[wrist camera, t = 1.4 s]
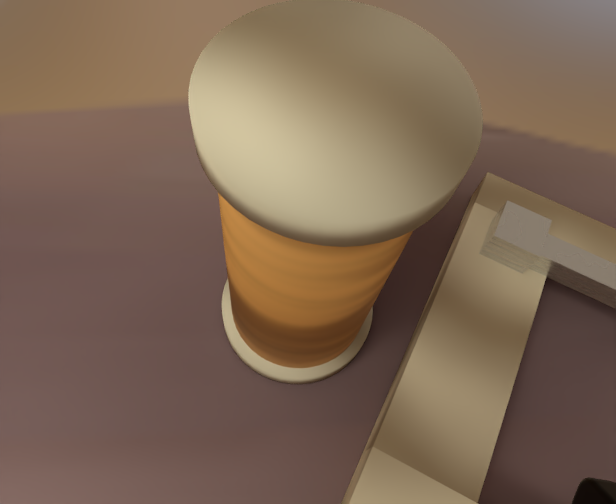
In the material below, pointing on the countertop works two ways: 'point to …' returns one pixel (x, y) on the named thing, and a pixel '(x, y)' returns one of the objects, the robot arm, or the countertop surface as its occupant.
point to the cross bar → (547, 253)
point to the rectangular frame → (463, 361)
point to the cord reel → (324, 169)
